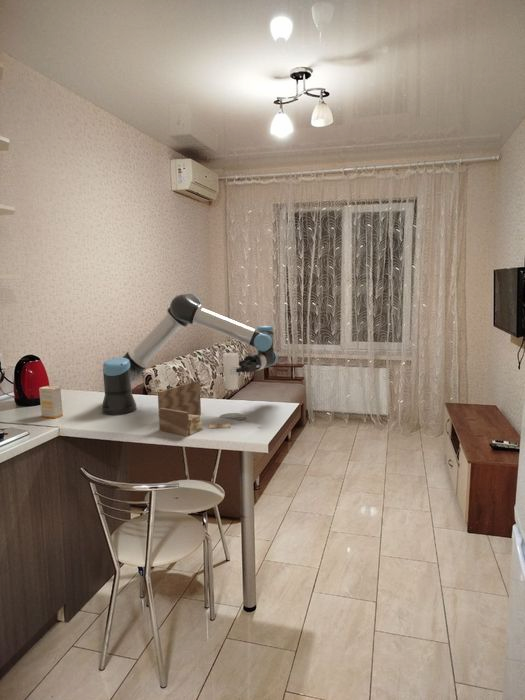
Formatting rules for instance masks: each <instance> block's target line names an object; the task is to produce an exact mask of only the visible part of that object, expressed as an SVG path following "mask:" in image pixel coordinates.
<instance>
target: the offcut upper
mask: <svg viewBox="0 0 525 700" xmlns="http://www.w3.org/2000/svg"><path fill="white" fill-rule="evenodd" d="M200 416H201V415H200ZM200 416H199V415H190V414H188V418H189V426H193V425H195V424H197V423H199V422H201V418H200Z"/></svg>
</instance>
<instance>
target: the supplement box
mask: <svg viewBox="0 0 525 700" xmlns="http://www.w3.org/2000/svg"><path fill="white" fill-rule="evenodd" d="M38 391H39V402H40V411H41V417H43V418H50V419H57V418H60V417H63V416H64V414H63V411H64V410H63V403H62V402H63V401H62V389H61V387H60V386H53V385H46V386H42V387H39V388H38Z"/></svg>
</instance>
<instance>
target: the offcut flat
mask: <svg viewBox="0 0 525 700" xmlns="http://www.w3.org/2000/svg"><path fill="white" fill-rule="evenodd" d="M208 426H209V429H210V430H211V429H213V430H214V429H229V428H231V424H230V423H218V424H214V423H213V424H209V425H208Z"/></svg>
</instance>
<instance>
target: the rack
mask: <svg viewBox="0 0 525 700" xmlns="http://www.w3.org/2000/svg"><path fill="white" fill-rule="evenodd" d="M200 403H201V385H200V380H196V381H192V382H188V383H186V384H183V385H179V386H175V387H172V388H168V389H164V390H161V391H157V406H158V422H159V423H158V424H159V425H158V426H159V431H160V432H164V433H168V434H173V435H178V436H184V437H188V436H190V435H189V418H188V414H190V415H199V416H202V415H201V413H202V406H201V405H200ZM203 430H204V428H202V430H201V431H203Z"/></svg>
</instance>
